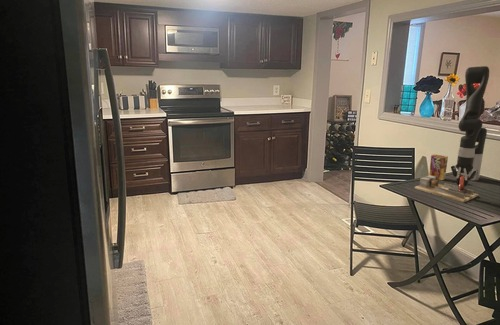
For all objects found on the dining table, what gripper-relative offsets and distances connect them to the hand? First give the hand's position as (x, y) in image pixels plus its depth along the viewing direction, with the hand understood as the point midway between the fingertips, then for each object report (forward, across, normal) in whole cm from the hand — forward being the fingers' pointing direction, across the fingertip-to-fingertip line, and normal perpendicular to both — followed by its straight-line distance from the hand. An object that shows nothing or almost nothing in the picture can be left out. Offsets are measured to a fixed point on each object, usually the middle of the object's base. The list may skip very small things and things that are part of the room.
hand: (461, 185), depth 195 cm
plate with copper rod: (+5, +2, 0) cm, 6 cm away
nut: (+5, +15, 0) cm, 16 cm away
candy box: (+7, +25, -21) cm, 34 cm away
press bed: (+7, +8, 0) cm, 11 cm away
